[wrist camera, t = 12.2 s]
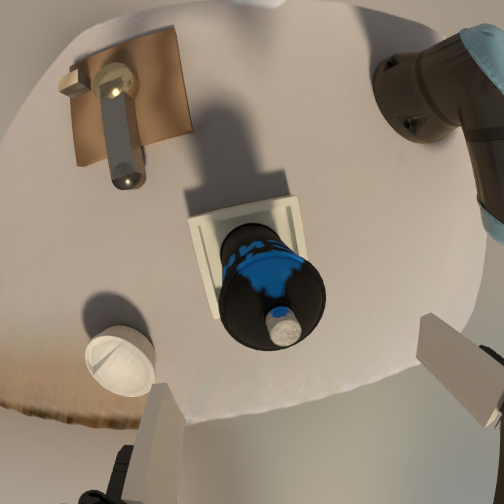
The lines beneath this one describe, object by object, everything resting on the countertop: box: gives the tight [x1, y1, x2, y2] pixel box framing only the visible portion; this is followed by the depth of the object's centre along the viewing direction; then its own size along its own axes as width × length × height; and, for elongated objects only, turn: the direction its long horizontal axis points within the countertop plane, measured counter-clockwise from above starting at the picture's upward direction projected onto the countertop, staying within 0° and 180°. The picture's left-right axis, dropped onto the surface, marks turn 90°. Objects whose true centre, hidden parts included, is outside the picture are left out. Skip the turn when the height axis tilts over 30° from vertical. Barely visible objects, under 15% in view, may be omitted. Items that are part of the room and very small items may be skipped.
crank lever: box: [92, 62, 146, 190], centre depth 27 cm, size 16×5×4 cm, turn 11°
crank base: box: [58, 28, 193, 167], centre depth 27 cm, size 16×16×6 cm
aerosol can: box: [218, 223, 326, 351], centre depth 26 cm, size 8×8×20 cm
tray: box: [188, 195, 308, 319], centre depth 35 cm, size 13×13×4 cm
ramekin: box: [85, 326, 156, 397], centre depth 36 cm, size 11×11×5 cm
